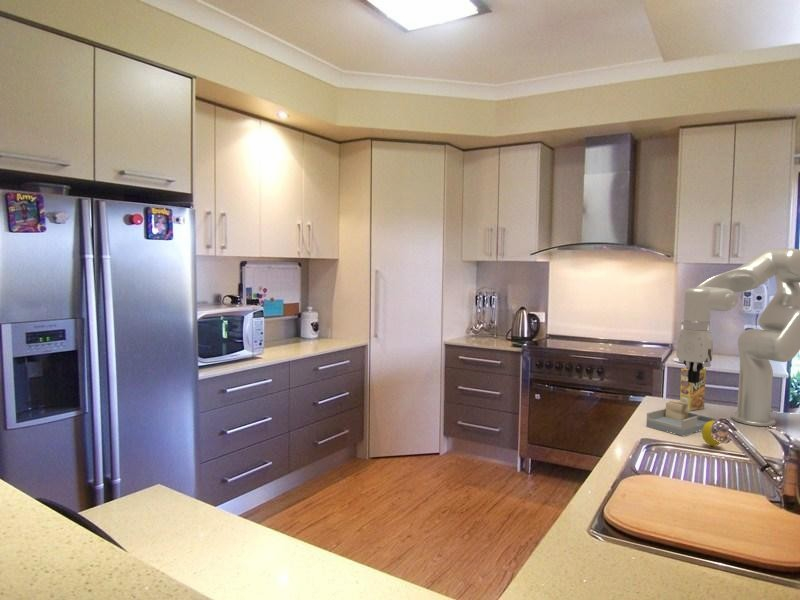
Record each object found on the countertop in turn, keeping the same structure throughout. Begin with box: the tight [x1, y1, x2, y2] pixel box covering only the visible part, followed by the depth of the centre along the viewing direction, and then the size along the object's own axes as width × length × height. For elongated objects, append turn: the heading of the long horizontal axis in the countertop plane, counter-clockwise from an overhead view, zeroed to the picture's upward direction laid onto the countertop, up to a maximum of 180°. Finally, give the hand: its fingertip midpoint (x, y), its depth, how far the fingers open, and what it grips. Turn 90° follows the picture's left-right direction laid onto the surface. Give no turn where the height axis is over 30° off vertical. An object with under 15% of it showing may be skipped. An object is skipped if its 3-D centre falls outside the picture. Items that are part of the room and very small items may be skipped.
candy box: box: [679, 367, 707, 412], centre depth 203 cm, size 9×4×15 cm, turn 118°
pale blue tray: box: [646, 407, 719, 437], centre depth 182 cm, size 22×12×5 cm, turn 124°
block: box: [665, 400, 689, 421], centre depth 184 cm, size 5×5×5 cm
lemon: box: [701, 420, 721, 447], centre depth 161 cm, size 6×6×8 cm
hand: (693, 382), depth 179 cm, fingers closed
